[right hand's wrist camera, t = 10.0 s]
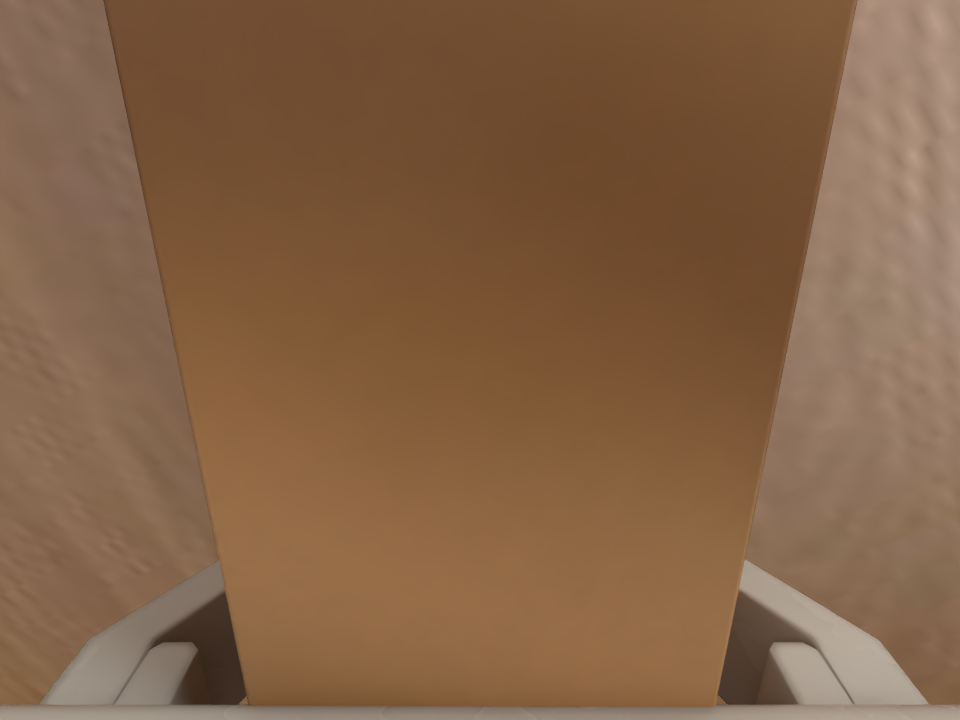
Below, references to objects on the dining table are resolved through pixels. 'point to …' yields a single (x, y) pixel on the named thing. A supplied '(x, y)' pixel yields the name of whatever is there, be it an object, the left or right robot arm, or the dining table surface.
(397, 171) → the beam
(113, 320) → the dining table surface
